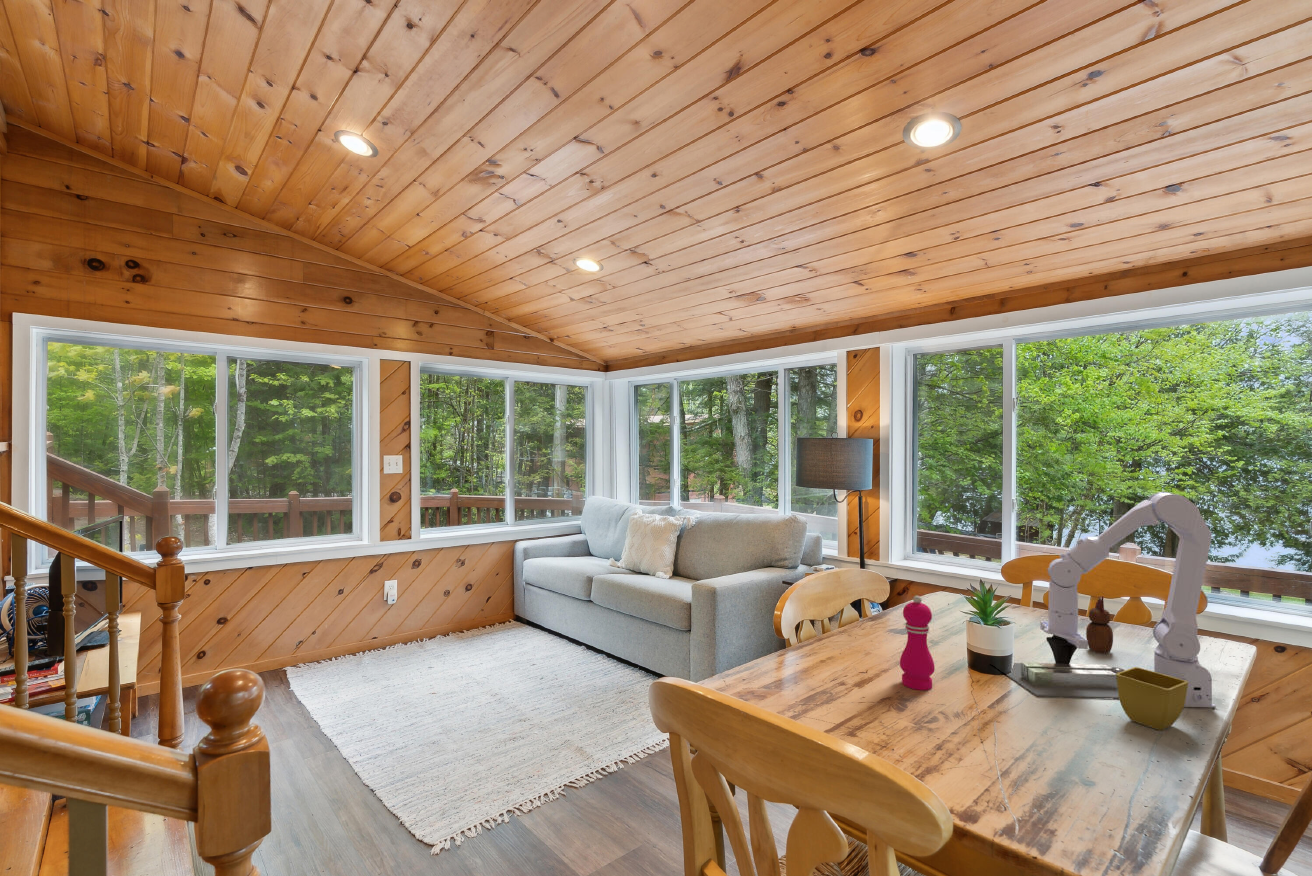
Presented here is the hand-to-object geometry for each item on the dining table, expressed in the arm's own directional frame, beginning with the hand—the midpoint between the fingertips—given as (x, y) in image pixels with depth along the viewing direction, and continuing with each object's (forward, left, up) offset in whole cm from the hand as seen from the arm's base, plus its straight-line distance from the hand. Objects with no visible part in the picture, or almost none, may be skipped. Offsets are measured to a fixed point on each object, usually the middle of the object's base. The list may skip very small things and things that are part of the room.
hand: (1062, 669), depth 142 cm
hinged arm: (-3, -1, -1) cm, 3 cm away
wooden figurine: (+21, -22, -2) cm, 30 cm away
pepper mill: (-6, +36, -2) cm, 36 cm away
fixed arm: (-5, +1, -2) cm, 5 cm away
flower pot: (-23, -3, -2) cm, 23 cm away
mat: (-1, -1, -2) cm, 3 cm away
